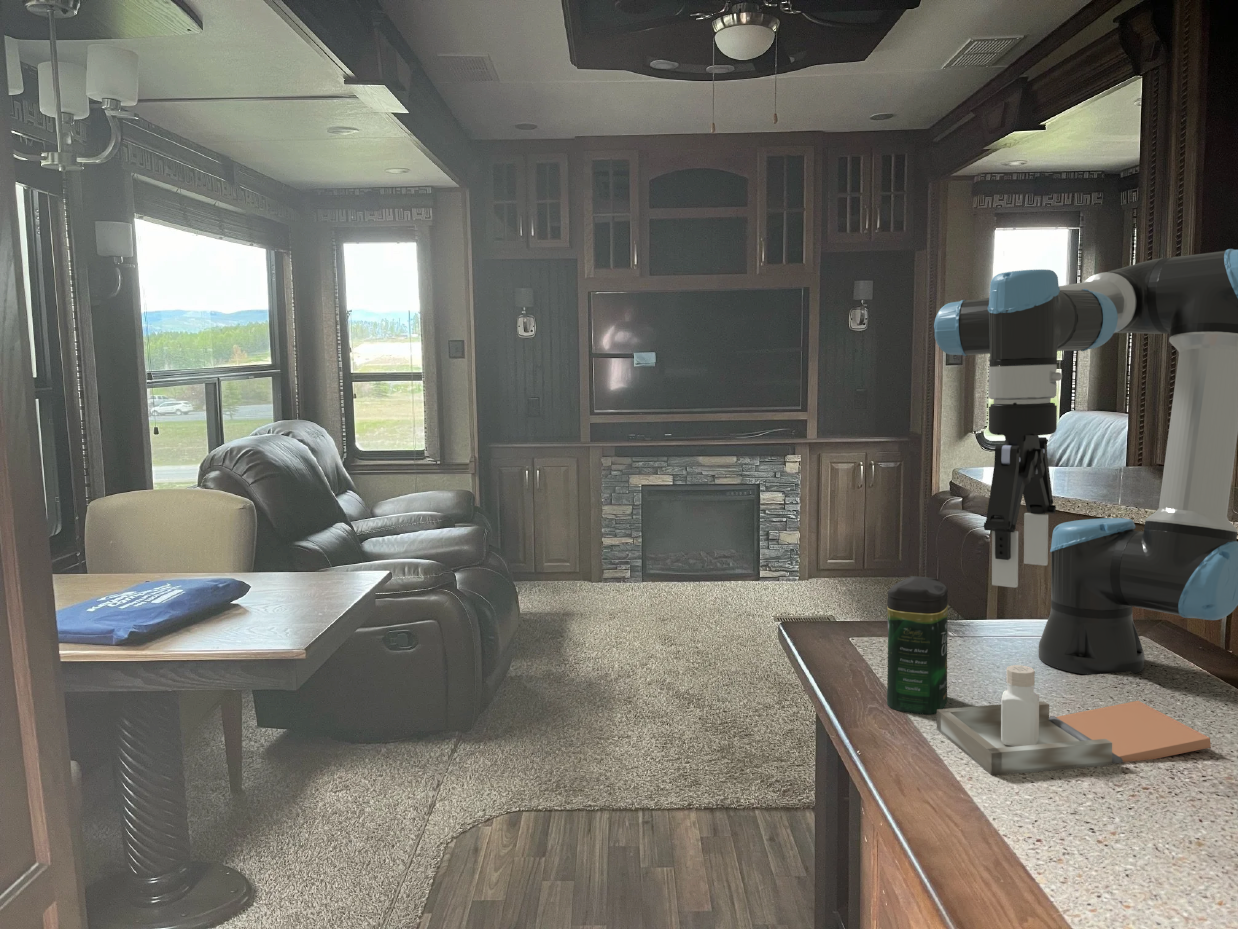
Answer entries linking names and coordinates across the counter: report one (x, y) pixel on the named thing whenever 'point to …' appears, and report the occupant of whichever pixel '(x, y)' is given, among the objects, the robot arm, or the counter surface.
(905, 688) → the coffee jar
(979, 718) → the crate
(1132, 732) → the panel
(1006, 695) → the pepper shaker
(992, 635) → the counter surface
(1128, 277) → the robot arm
